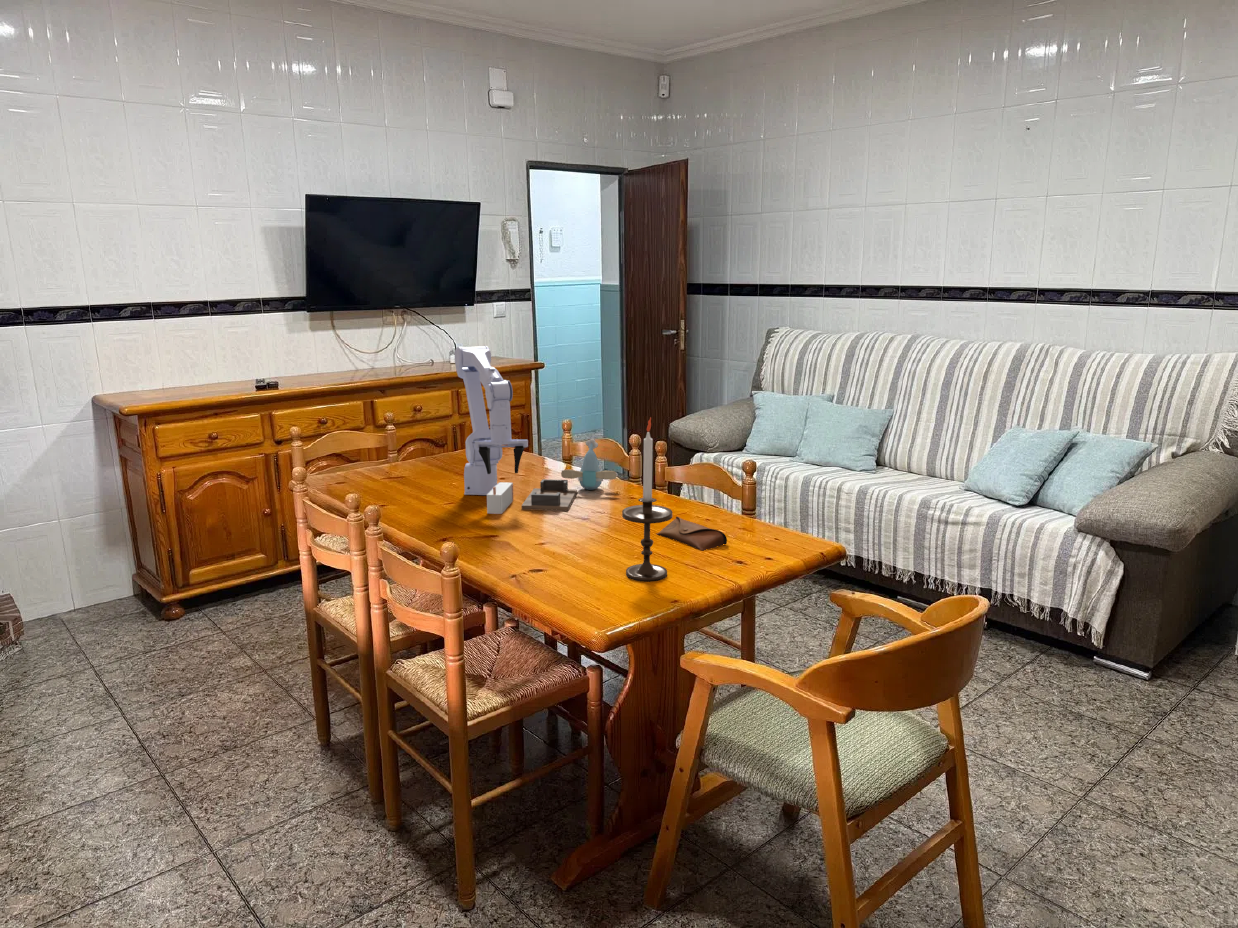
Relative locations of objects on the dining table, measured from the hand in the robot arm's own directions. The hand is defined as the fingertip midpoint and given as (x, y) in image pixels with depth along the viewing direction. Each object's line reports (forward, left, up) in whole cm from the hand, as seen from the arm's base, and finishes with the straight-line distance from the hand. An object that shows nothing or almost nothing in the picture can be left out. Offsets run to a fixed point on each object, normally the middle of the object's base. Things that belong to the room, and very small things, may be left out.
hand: (502, 473), depth 240 cm
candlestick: (+43, -51, -10) cm, 68 cm away
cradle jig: (+12, +7, -10) cm, 17 cm away
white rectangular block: (-1, 0, -10) cm, 10 cm away
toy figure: (+22, +22, -10) cm, 33 cm away
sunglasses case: (+53, -25, -10) cm, 59 cm away
